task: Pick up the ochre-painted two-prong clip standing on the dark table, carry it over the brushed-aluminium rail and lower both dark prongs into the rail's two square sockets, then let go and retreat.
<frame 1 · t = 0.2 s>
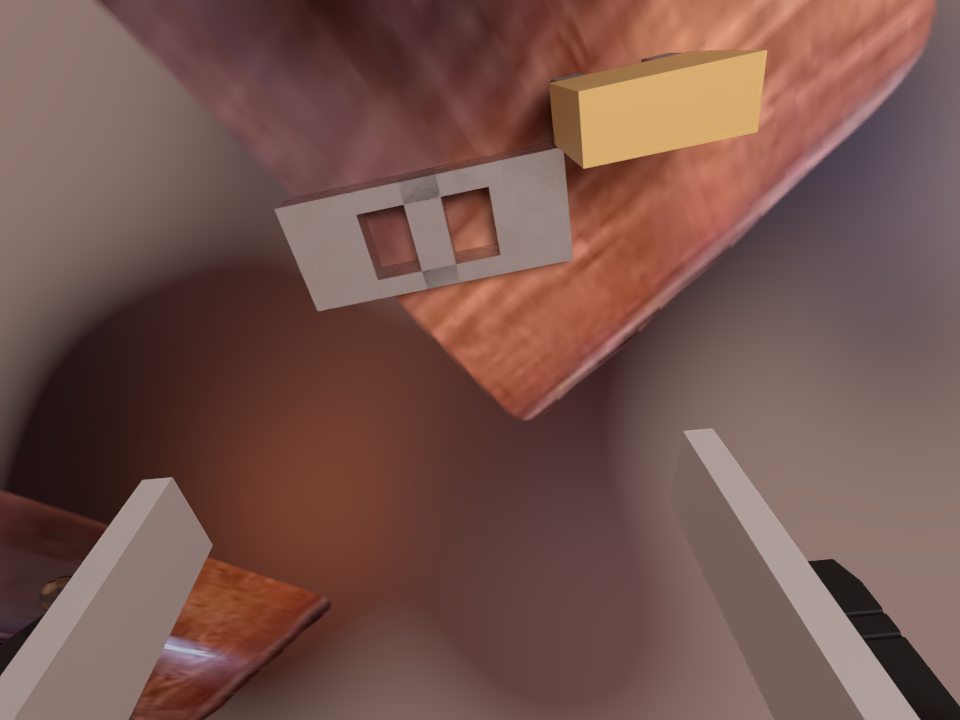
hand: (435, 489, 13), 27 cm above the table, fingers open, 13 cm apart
rail: (431, 225, 36), on the table
clip: (611, 96, 32), on the table
vase: (85, 594, 59), on the table
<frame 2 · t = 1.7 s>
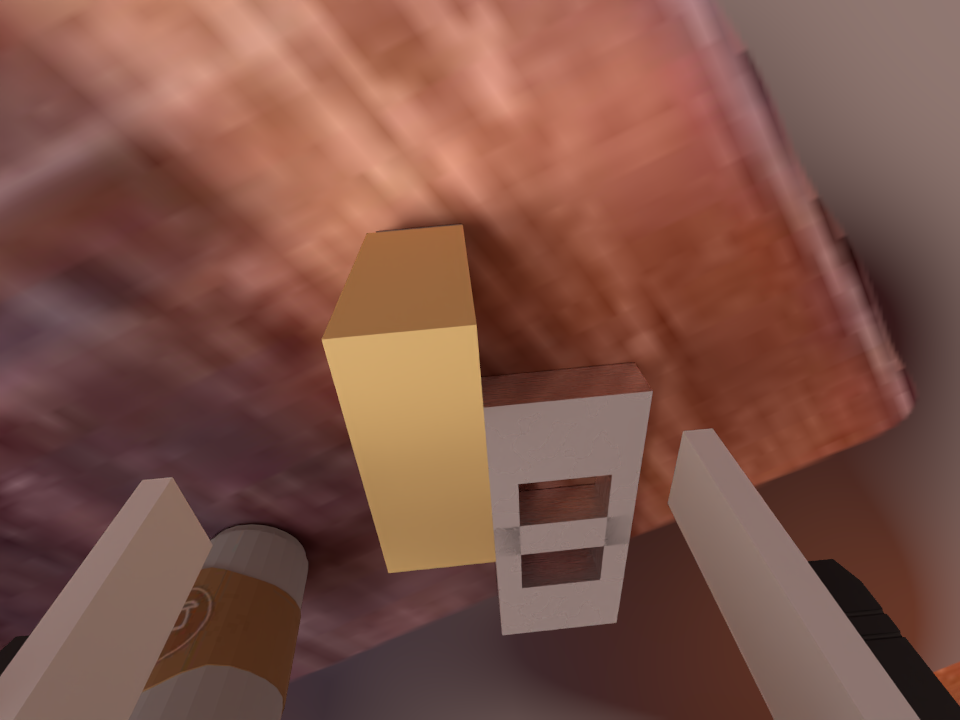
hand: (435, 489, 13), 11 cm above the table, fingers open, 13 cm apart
coffee cup: (260, 551, 30), on the table
rail: (554, 502, 30), on the table
clip: (430, 310, 22), on the table
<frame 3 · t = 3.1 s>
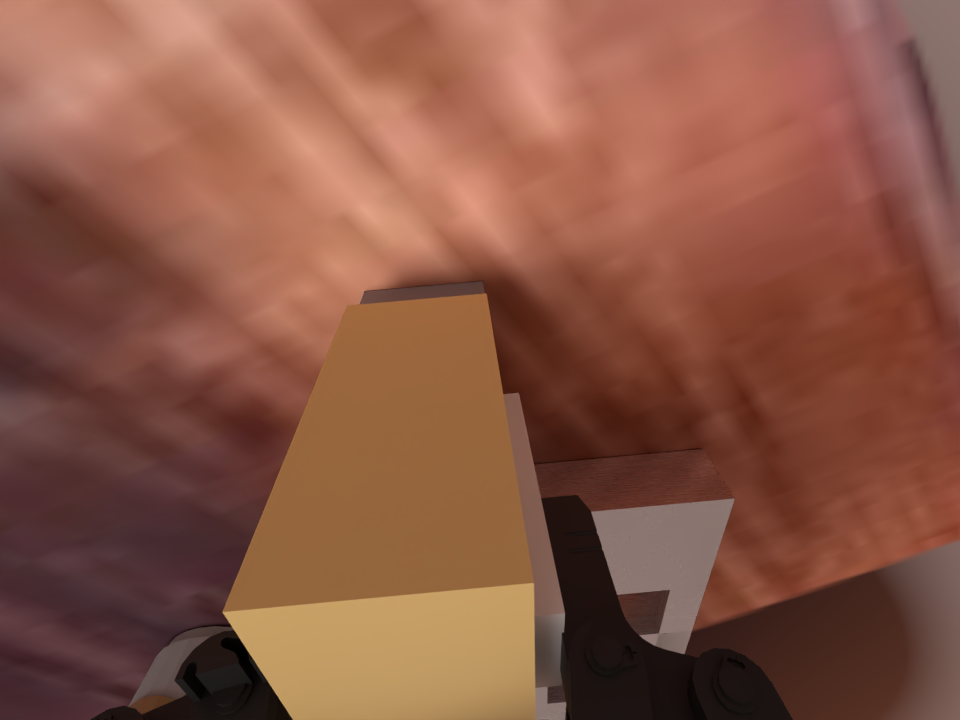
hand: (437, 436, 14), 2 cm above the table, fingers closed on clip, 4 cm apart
coffee cup: (229, 652, 25), on the table
rail: (588, 601, 24), on the table
clip: (438, 389, 16), on the table, touching gripper
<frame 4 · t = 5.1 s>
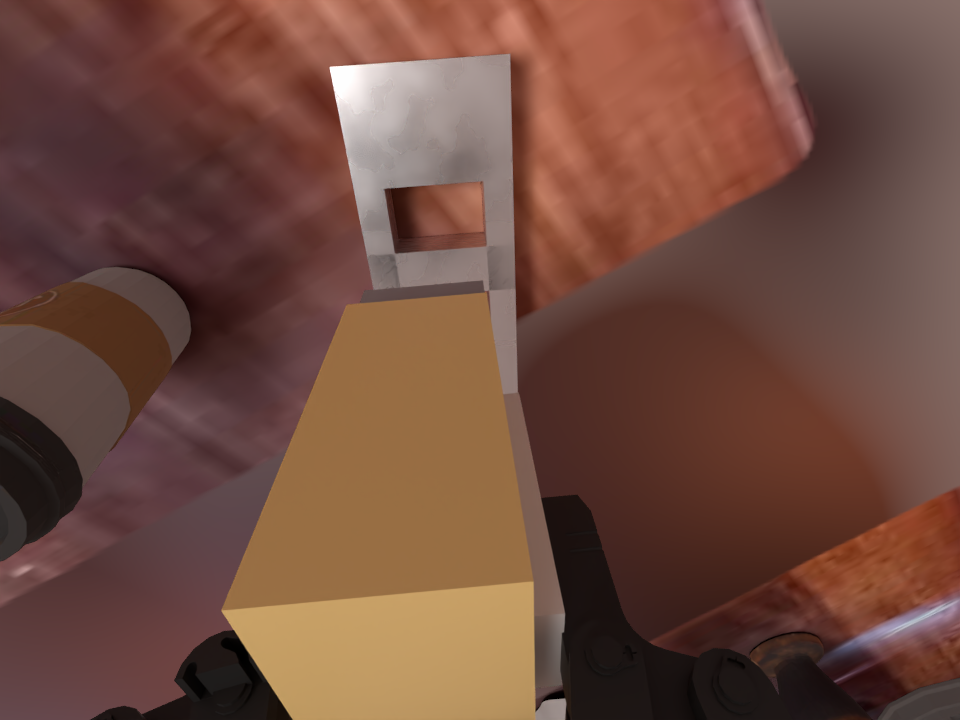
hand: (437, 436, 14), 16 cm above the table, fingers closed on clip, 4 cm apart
coffee cup: (141, 310, 29), on the table
lantern: (936, 702, 70), on the table
rail: (443, 256, 28), on the table
clip: (438, 389, 16), point 14 cm above the table, touching gripper
vase: (782, 648, 58), on the table
when the fingers open (4 cm above the table, at t = 7.0 s): clip stays where it is, resting on rail.
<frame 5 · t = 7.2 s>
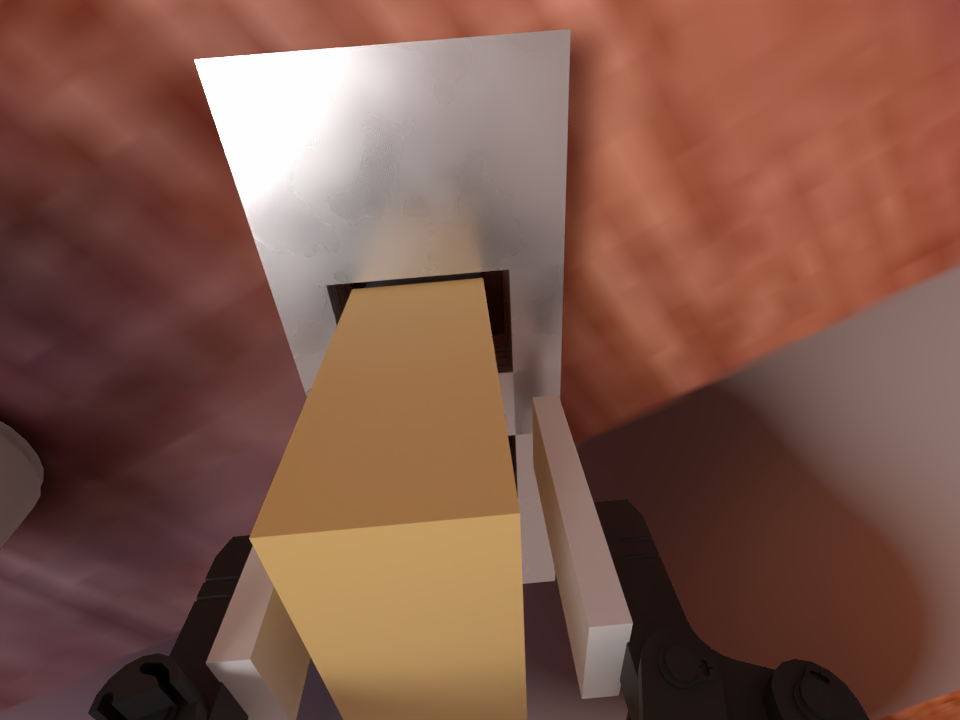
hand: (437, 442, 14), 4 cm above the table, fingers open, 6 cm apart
rail: (439, 369, 18), on the table
clip: (438, 373, 17), resting on rail
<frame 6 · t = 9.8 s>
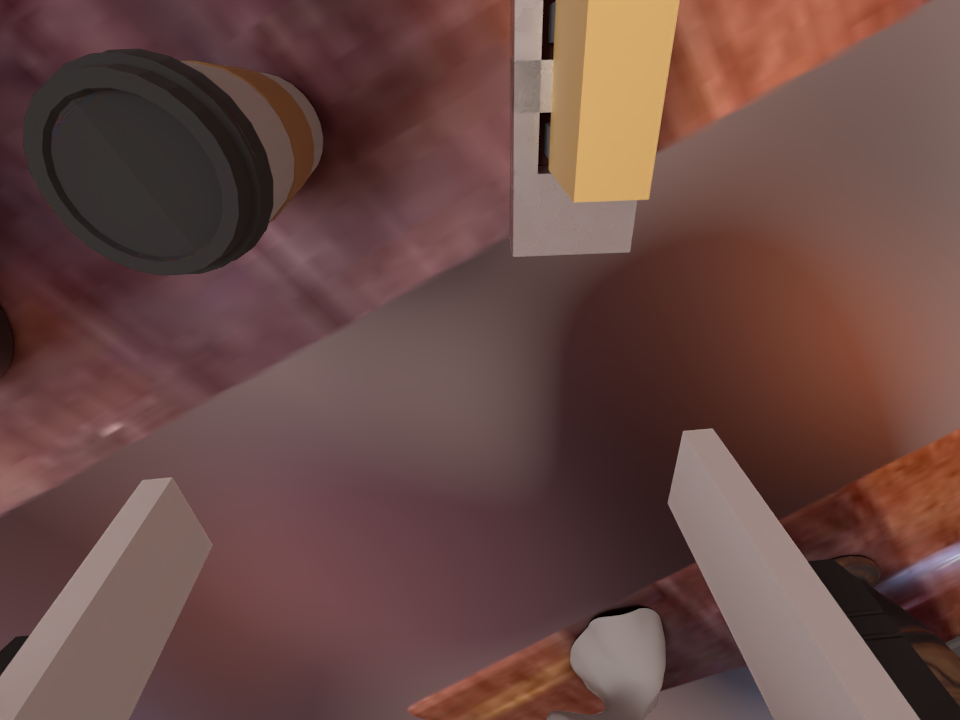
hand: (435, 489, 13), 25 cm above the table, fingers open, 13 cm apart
coffee cup: (275, 130, 30), on the table
rail: (575, 83, 29), on the table
clip: (576, 83, 29), resting on rail
vase: (836, 574, 58), on the table
head bust: (588, 649, 66), on the table
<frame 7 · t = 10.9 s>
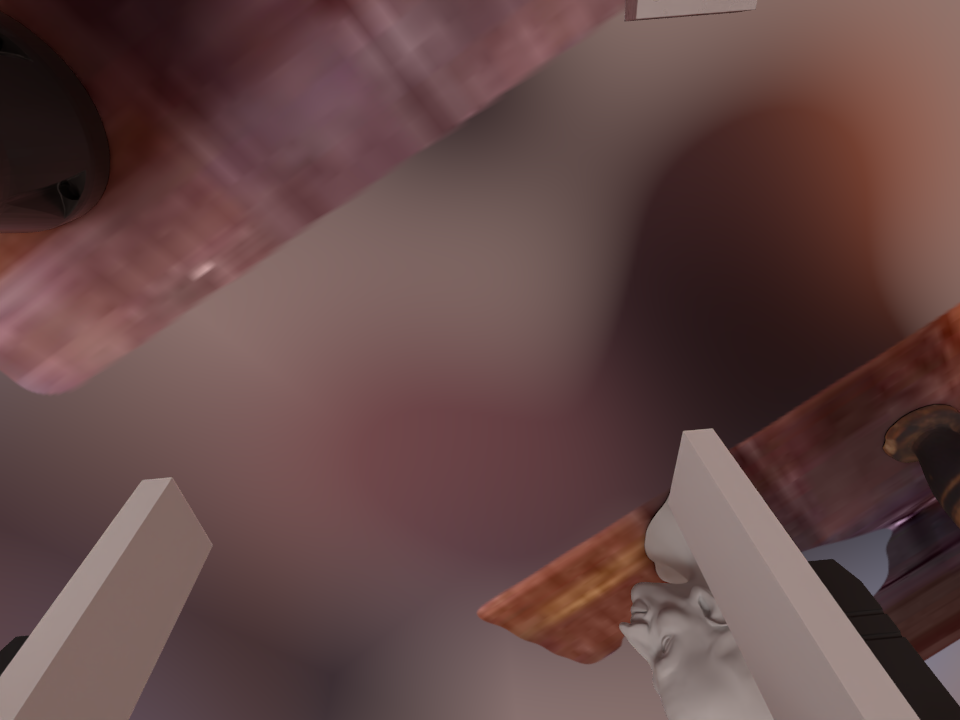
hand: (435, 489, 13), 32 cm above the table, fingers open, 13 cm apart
vase: (917, 430, 57), on the table
head bust: (662, 531, 65), on the table
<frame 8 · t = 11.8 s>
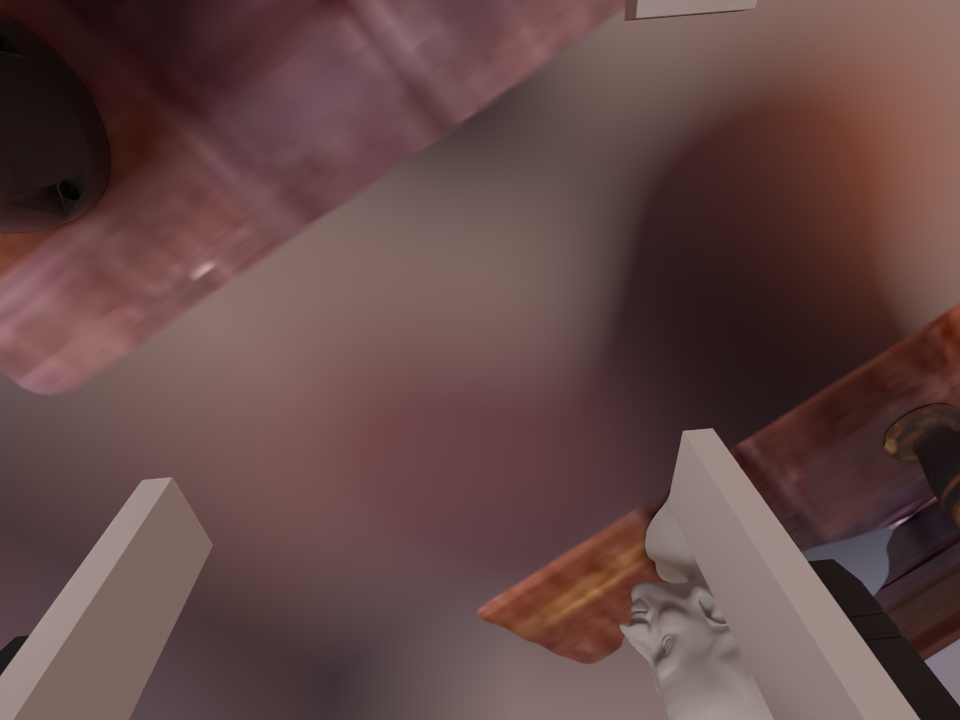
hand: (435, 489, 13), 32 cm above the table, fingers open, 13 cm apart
vase: (918, 429, 57), on the table
head bust: (662, 531, 65), on the table
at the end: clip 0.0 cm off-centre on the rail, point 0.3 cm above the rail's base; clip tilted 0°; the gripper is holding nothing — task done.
